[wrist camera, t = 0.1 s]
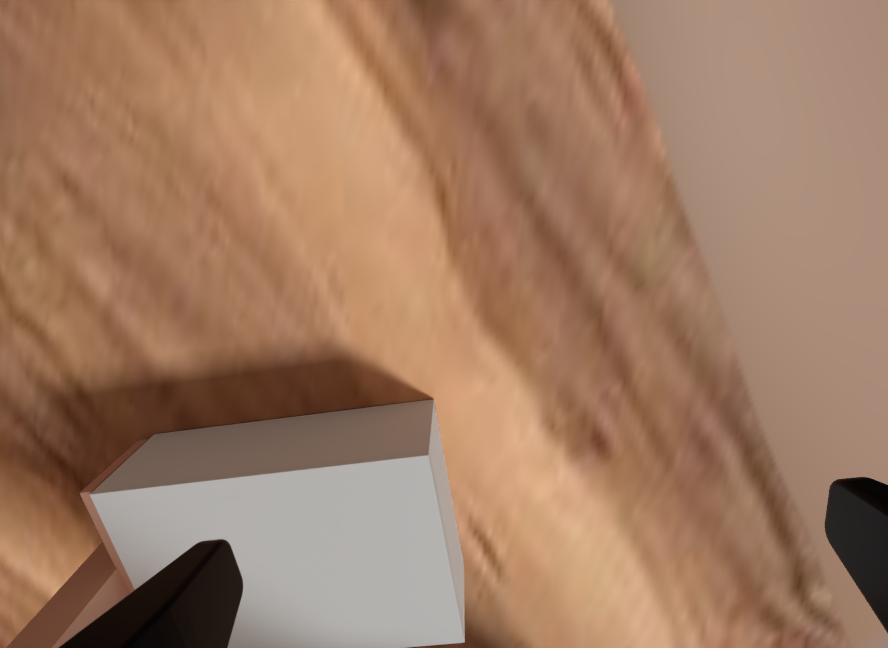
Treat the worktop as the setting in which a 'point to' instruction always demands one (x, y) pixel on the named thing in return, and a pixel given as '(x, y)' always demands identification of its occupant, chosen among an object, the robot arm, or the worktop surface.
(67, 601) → the mailer tray
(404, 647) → the sleeve
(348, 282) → the worktop surface
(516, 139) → the worktop surface
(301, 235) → the worktop surface
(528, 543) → the worktop surface
